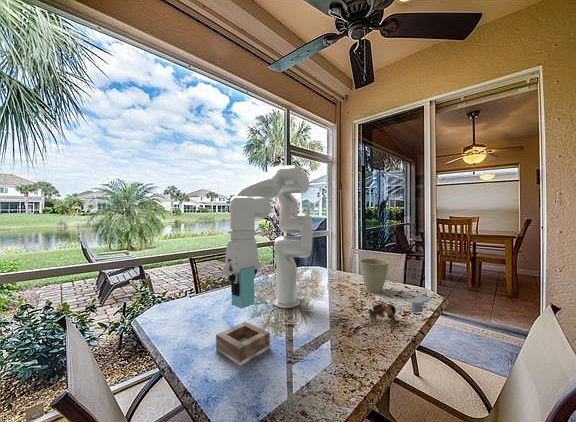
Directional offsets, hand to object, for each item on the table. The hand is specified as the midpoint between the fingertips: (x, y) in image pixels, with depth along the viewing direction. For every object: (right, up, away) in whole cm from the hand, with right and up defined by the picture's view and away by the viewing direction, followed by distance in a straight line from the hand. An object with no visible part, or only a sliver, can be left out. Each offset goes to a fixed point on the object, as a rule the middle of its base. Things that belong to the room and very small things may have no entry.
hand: (242, 292), depth 81 cm
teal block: (0, -4, 0) cm, 4 cm away
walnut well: (0, -18, 0) cm, 18 cm away
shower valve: (+70, -18, +29) cm, 78 cm away
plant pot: (+61, -17, +56) cm, 85 cm away
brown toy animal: (+52, -18, +19) cm, 59 cm away
